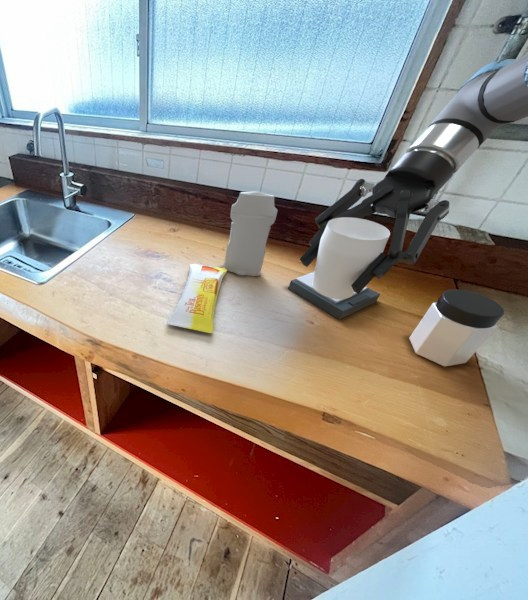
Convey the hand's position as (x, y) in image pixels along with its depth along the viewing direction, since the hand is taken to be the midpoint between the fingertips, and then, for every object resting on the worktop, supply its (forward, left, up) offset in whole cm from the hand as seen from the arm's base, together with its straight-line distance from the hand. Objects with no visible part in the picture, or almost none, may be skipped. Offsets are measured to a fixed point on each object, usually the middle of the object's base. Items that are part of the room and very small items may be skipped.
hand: (327, 275), depth 55 cm
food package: (+23, +7, -17) cm, 30 cm away
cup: (0, -3, -4) cm, 5 cm away
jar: (-14, -22, -17) cm, 31 cm away
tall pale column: (+27, -10, -17) cm, 34 cm away
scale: (+8, -21, -17) cm, 28 cm away
